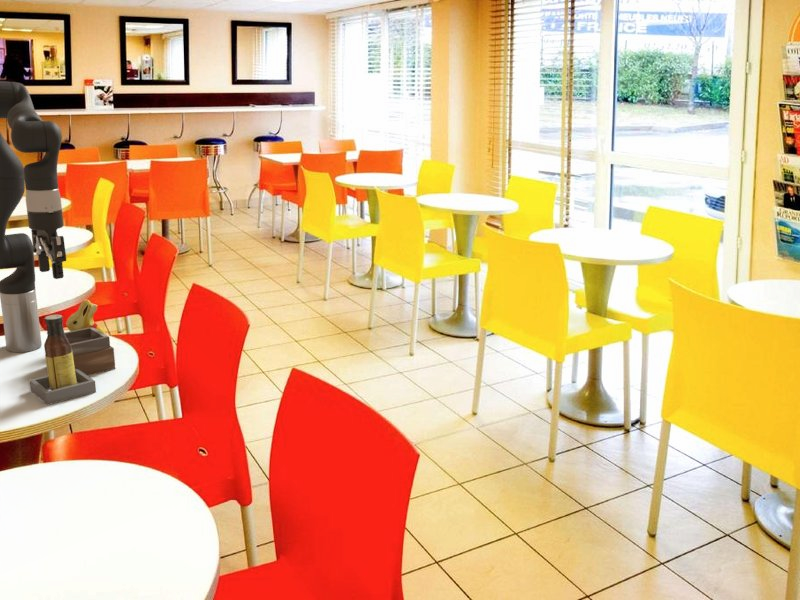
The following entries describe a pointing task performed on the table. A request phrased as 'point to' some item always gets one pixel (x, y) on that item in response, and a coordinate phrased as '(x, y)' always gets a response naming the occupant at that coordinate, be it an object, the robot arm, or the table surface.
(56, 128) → the robot arm
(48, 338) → the sauce bottle
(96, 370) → the walnut dock
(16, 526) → the table surface
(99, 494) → the table surface
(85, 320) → the chocolate bunny
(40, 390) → the low holder
